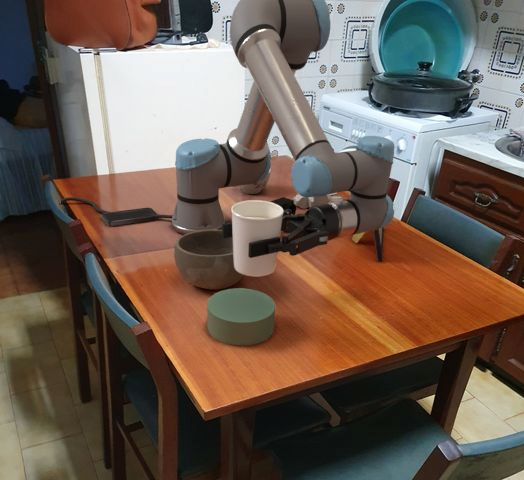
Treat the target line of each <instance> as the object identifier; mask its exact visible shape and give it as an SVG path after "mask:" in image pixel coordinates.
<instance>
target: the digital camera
mask: <svg viewBox="0 0 524 480" xmlns="http://www.w3.org/2000/svg"><path fill="white" fill-rule="evenodd" d="M269 202H272V203H275V204H277V205H279V206H281V207H282V208H283V210H287V209H290V210H292V213H291V214H293V215H296V214H297V213H296V212H297V206H296V205H295V203H294V200H293V199H291V198H288V197H285V196H282V197H279V198H277V199H273V200H270V201H269ZM287 226H288V224H287Z"/></svg>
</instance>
